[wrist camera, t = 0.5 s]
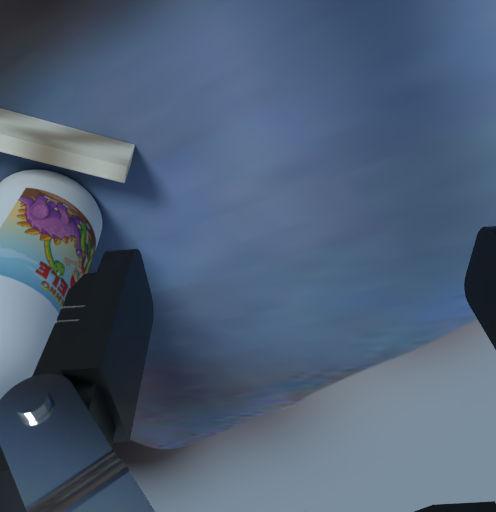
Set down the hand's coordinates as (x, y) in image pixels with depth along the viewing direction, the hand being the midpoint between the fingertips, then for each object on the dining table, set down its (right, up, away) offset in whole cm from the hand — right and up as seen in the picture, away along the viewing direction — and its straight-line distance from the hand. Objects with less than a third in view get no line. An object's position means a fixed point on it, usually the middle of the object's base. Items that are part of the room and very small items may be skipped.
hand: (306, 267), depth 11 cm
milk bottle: (-16, +4, +23) cm, 28 cm away
